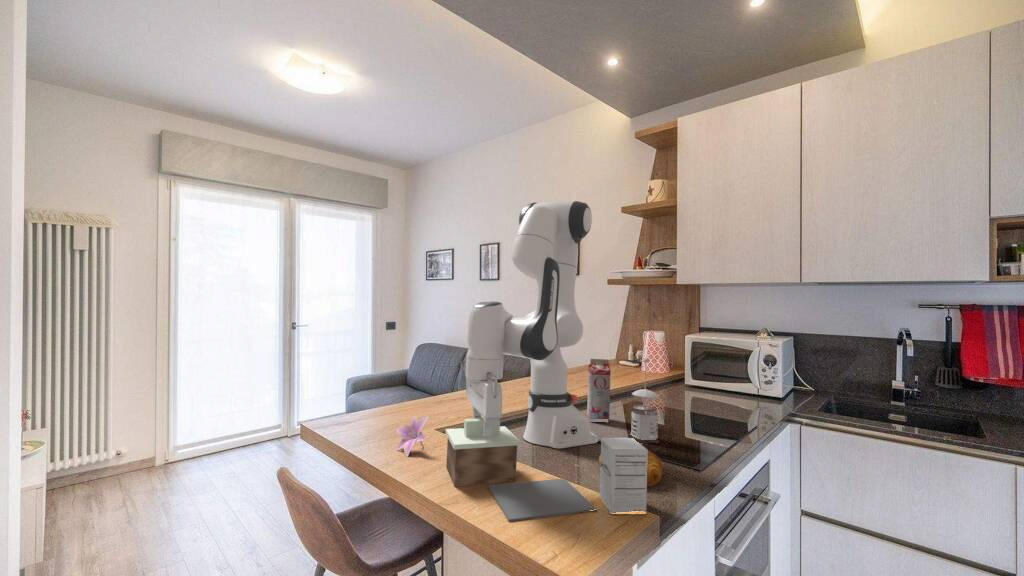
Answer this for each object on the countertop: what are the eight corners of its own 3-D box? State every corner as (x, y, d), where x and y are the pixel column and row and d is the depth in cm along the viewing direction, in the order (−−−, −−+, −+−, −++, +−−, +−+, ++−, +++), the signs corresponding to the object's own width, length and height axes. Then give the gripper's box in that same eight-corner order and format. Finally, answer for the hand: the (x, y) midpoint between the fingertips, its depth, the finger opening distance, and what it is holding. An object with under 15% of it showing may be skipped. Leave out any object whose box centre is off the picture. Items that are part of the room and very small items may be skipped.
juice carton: (609, 423, 147) (610, 360, 148) (590, 422, 147) (592, 359, 148) (605, 418, 154) (606, 358, 155) (587, 417, 154) (588, 357, 155)
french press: (626, 441, 127) (628, 358, 128) (630, 431, 138) (632, 355, 139) (660, 446, 123) (661, 361, 125) (661, 435, 134) (663, 357, 135)
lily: (397, 446, 117) (386, 421, 114) (433, 429, 120) (424, 405, 117) (402, 472, 107) (391, 446, 104) (442, 453, 110) (432, 427, 107)
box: (502, 463, 104) (503, 430, 105) (515, 480, 94) (517, 444, 94) (446, 467, 100) (447, 433, 101) (454, 486, 90) (455, 448, 90)
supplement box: (598, 498, 87) (600, 436, 88) (633, 498, 87) (634, 437, 88) (609, 515, 80) (611, 448, 80) (647, 515, 80) (648, 448, 81)
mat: (564, 480, 95) (564, 478, 95) (596, 510, 81) (596, 508, 81) (488, 487, 90) (488, 485, 90) (508, 521, 76) (508, 519, 76)
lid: (504, 435, 105) (505, 412, 106) (519, 450, 94) (520, 425, 94) (445, 438, 101) (446, 414, 101) (453, 455, 90) (455, 428, 90)
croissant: (632, 502, 91) (636, 467, 90) (587, 467, 104) (590, 436, 104) (678, 489, 98) (681, 456, 97) (630, 458, 111) (633, 429, 111)
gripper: (510, 377, 89) (507, 442, 89) (486, 364, 109) (484, 417, 108) (482, 377, 88) (478, 444, 87) (462, 364, 107) (460, 418, 106)
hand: (481, 429), depth 98 cm, fingers open, 8 cm apart
